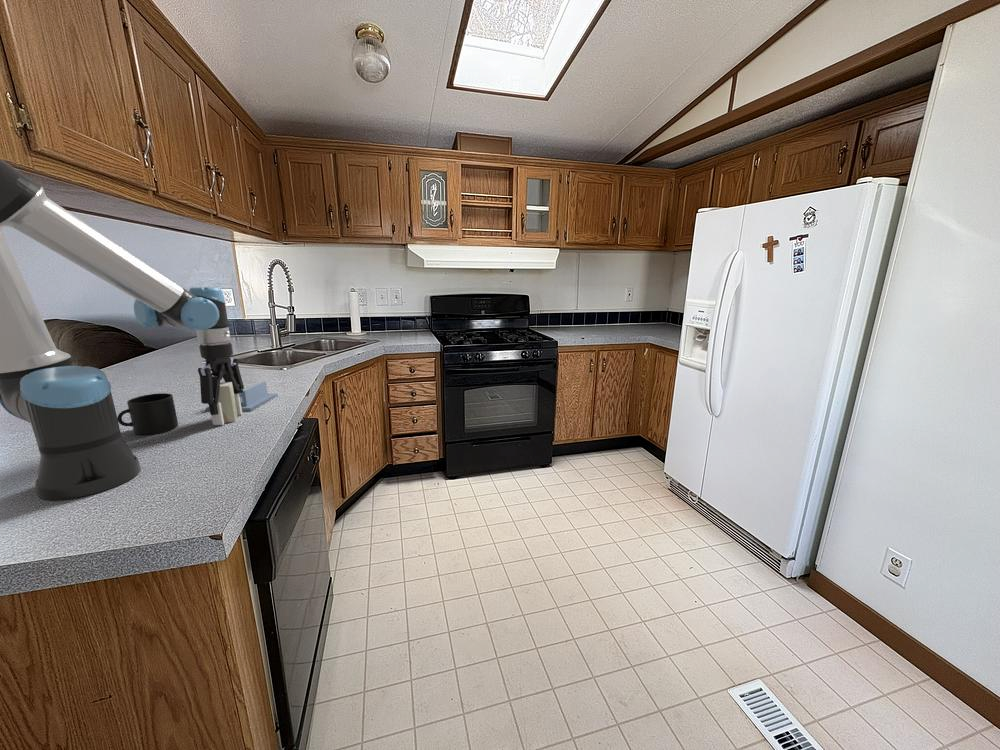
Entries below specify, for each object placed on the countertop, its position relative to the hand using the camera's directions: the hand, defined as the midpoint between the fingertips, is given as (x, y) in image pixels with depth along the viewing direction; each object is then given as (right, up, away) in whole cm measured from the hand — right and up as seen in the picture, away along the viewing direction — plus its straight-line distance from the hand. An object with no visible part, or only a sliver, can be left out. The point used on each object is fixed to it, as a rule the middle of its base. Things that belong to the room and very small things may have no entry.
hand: (228, 419), depth 118 cm
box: (0, 0, 0) cm, 1 cm away
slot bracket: (-5, +4, +16) cm, 17 cm away
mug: (-16, -2, -8) cm, 18 cm away
